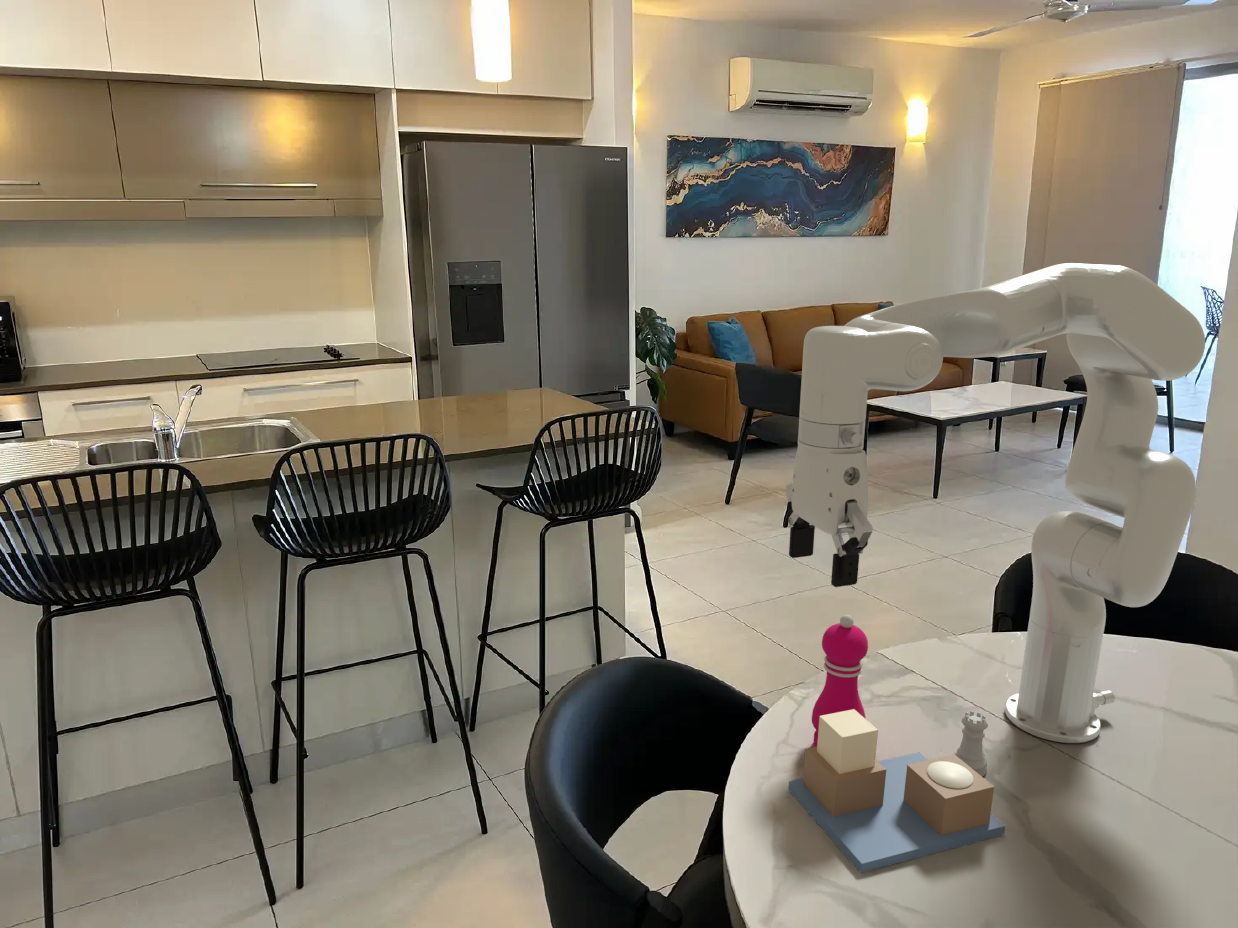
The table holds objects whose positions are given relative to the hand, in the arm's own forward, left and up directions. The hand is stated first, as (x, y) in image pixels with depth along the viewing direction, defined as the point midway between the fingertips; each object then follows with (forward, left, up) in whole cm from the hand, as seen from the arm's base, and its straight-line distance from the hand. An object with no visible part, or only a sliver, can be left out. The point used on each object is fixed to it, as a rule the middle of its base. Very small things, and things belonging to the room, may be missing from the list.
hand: (821, 569), depth 107 cm
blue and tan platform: (-7, +9, -29) cm, 31 cm away
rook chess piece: (-22, +5, -30) cm, 37 cm away
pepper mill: (-8, -5, -29) cm, 31 cm away
